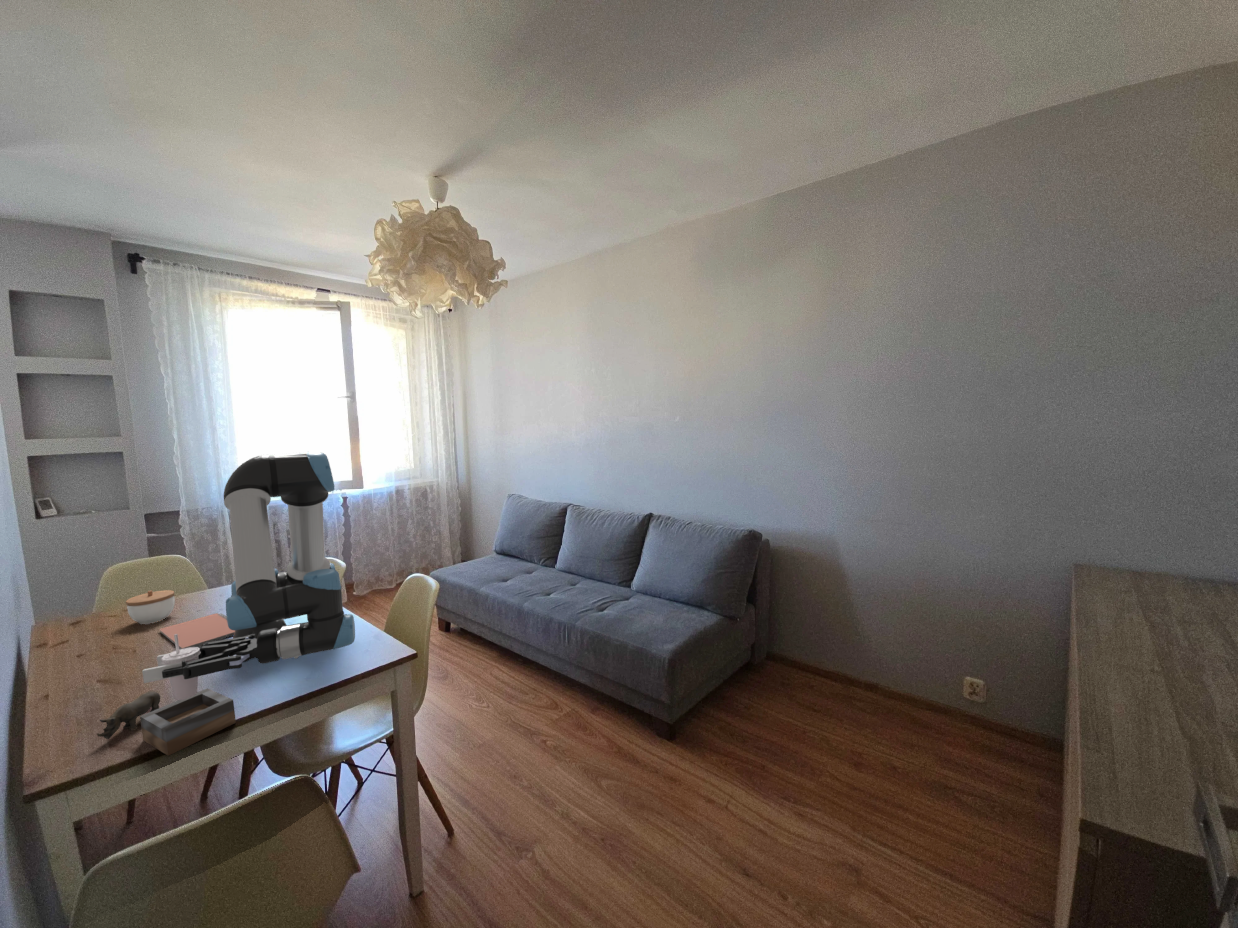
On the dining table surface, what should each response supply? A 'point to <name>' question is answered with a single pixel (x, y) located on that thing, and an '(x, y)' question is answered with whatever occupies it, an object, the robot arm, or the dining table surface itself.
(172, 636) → the notebook
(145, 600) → the lidded bowl
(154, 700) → the rhino figurine
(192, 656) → the smoothie
